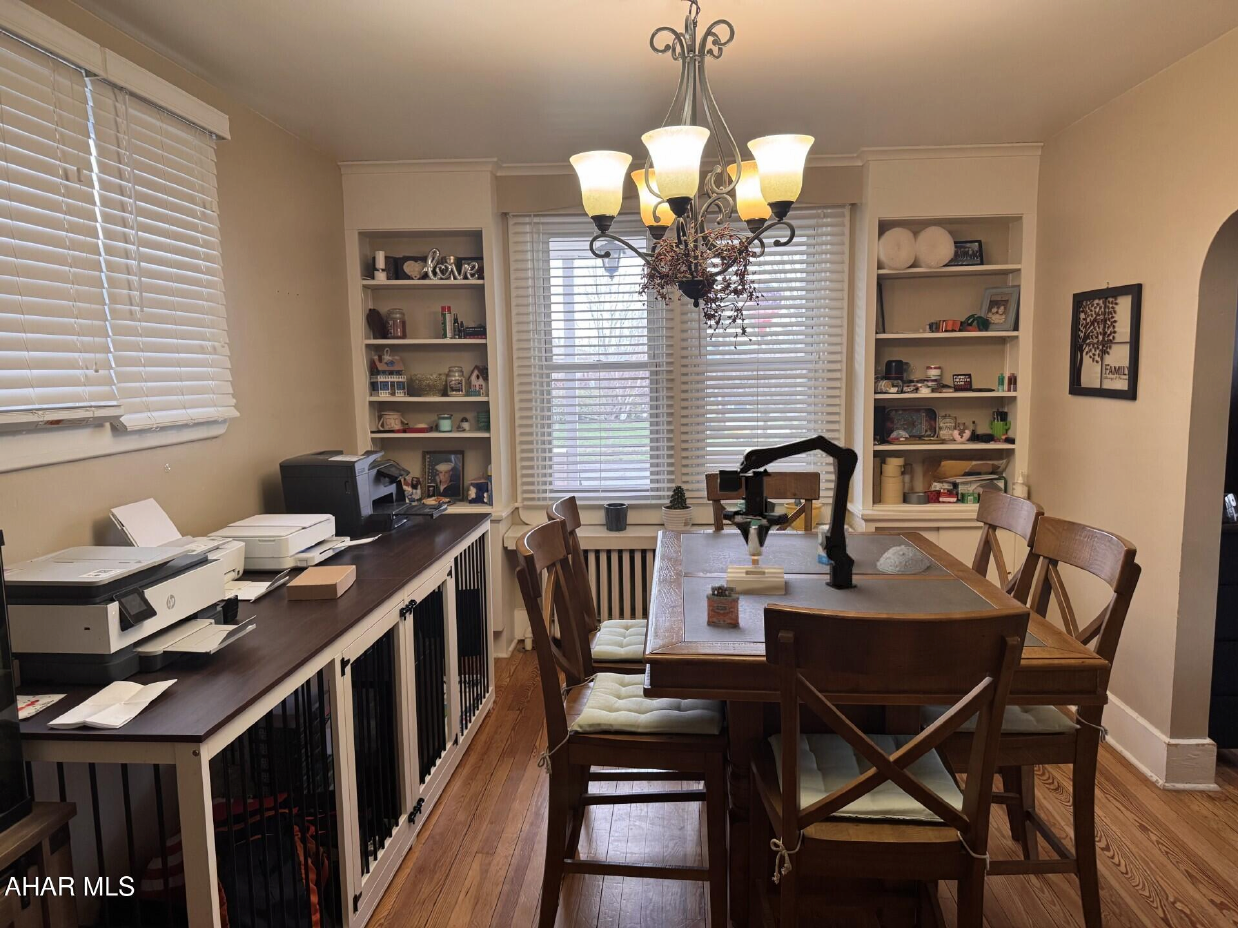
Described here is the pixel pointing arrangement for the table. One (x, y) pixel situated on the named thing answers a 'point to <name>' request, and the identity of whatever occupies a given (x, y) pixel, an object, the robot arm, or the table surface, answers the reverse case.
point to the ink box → (821, 556)
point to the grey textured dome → (902, 561)
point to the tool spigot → (754, 542)
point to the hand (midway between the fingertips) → (755, 546)
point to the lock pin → (755, 560)
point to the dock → (756, 579)
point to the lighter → (723, 607)
